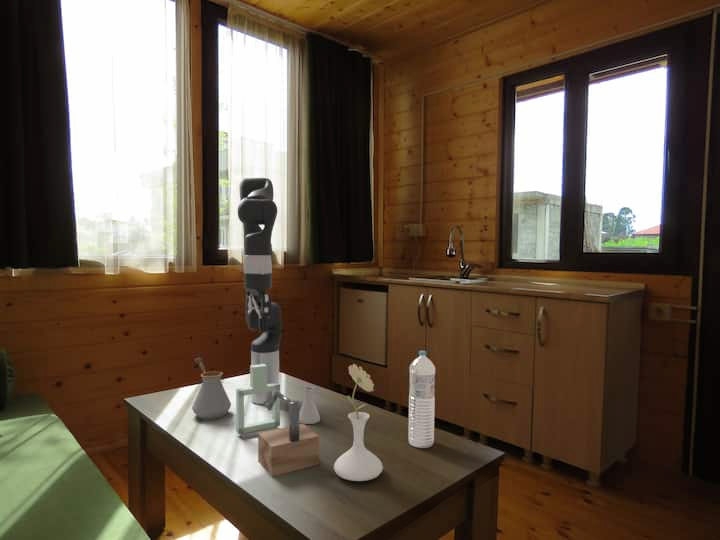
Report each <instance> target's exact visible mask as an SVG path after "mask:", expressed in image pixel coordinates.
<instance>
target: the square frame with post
mask: <svg viewBox="0 0 720 540" xmlns="http://www.w3.org/2000/svg"><path fill="white" fill-rule="evenodd" d="M235 390H236V391H235V392H236V393H235V394H236V396H235V397H236V398H235V403H236V405H235V406H236V411H235V412H236V413H235V414H236V420H235V422H236V424H235V425H236V433H237V435H240V436H241V437H242V439H243V438H247V439H251V438H255V436H256V437H258V433H261V432H265V431H270V430H275V429H280V428H279V427H281V399H280V398H277V399H276V401H275V403H274V405H273V407H272V409H271V411H272V413H271V414H272V415H271V416H272V417H271V419H268V420H263V421H258V422H253V423H252V422H251V423H248V424H245V400H244V399H245V396H249V395H250V396H251V394H257V393H263V392H269V391H273V395H274V393H275V392H276V391H279V392H280V393H281V384H280V383H279V384H278V383H273V384H267V366H266V365H265V364H259V365H251V364H250V365H249V387H247V386H246V387H240V388H236V389H235ZM250 437H251V438H250Z"/></svg>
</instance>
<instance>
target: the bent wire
mask: <svg viewBox="0 0 720 540" xmlns="http://www.w3.org/2000/svg"><path fill="white" fill-rule="evenodd" d="M277 398H280V401H282V402H284V404H286V405H288V427H289V441H291V442H297V441H299V424H300V423H299V412H300V401H299V400H294V399H293V400H291V399H290V398H288V397H287V396H286V395H284V394H283V393H281V391H280V392H279V391H276V392H275V393H274V395H273V397H272V399H271V401H270V403H269V402H267V401H265V402H264V404H263V405H264V406H265V407H266V408H267V409H268V410H272V407H273V405H274V403H275V401H276V399H277Z"/></svg>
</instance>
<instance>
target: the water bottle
mask: <svg viewBox="0 0 720 540" xmlns="http://www.w3.org/2000/svg"><path fill="white" fill-rule="evenodd" d="M418 353H419V354H418V355H419V356H418V357H416V358H415V359H414V360H413V361H412V362H411V364H410V365H409V368H408V369H409V395H408V432H407V433H408V438H407V439H408V443H409V445H411V447H414V448H418V449H428V448H431V447H432V446H433V445H434V443H435V441H434V440H435V409H436V408H435V403H436V401H435V400H436V399H435V398H436V397H435V389H436V388H435V383H436V382H435V378H436V367H435V364H434V363H433V362H432V361H431V359H429V358H428V357H427V351H426V350H419V351H418Z"/></svg>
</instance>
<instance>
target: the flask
mask: <svg viewBox="0 0 720 540" xmlns="http://www.w3.org/2000/svg"><path fill="white" fill-rule="evenodd" d="M314 390H315V387H314V386H304V387H303V391H304V394H303V395H304V396H303V401H302V404H301V407H300V409H299V424H304V425H314V424H317V423H319V422H320V421H321V416H320V413H319V410H318V408H317V405H316V402H315V399H314Z"/></svg>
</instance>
